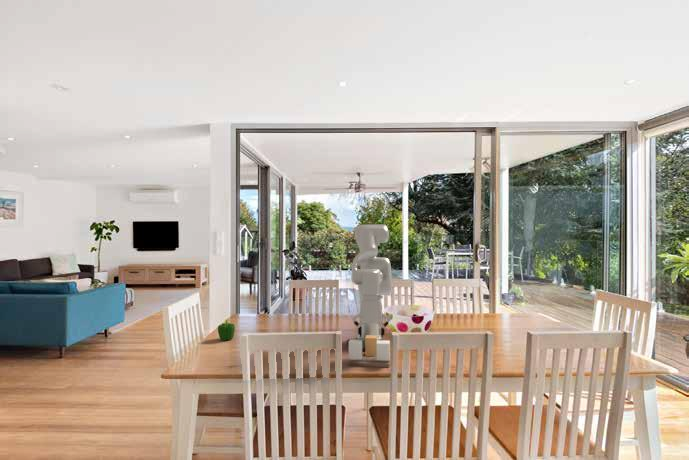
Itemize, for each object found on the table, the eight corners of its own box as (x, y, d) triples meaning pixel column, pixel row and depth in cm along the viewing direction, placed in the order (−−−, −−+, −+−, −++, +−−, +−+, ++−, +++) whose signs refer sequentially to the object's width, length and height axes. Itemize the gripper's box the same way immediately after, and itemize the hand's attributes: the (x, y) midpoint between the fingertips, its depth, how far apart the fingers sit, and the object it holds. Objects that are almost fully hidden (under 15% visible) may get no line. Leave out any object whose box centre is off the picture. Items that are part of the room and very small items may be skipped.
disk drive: (373, 352, 195) (366, 343, 209) (373, 346, 195) (366, 337, 209) (351, 353, 193) (346, 344, 208) (351, 347, 193) (346, 338, 208)
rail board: (351, 358, 185) (350, 337, 185) (390, 359, 182) (389, 338, 182) (348, 365, 175) (347, 344, 175) (389, 367, 172) (389, 345, 172)
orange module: (366, 352, 193) (366, 335, 193) (377, 352, 192) (377, 335, 192) (365, 355, 188) (365, 338, 188) (376, 356, 187) (376, 338, 187)
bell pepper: (230, 342, 213) (230, 322, 213) (215, 341, 214) (215, 321, 214) (237, 337, 221) (237, 318, 221) (223, 337, 223) (223, 318, 223)
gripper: (390, 297, 192) (391, 335, 191) (352, 296, 194) (353, 334, 194) (390, 299, 184) (390, 338, 184) (350, 299, 187) (351, 338, 186)
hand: (371, 336), depth 189 cm, fingers open, 9 cm apart
